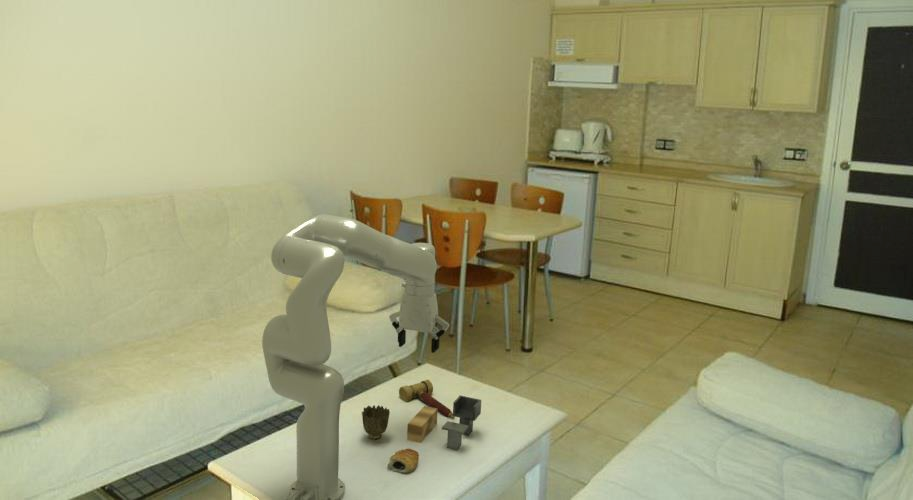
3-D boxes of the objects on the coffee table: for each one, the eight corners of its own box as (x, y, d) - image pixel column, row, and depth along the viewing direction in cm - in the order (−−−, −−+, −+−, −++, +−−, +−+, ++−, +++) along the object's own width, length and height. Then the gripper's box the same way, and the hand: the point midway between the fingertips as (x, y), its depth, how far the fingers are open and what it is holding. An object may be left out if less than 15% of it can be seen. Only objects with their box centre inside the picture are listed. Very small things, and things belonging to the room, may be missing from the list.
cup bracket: (473, 439, 195) (475, 407, 193) (451, 434, 197) (453, 402, 195) (479, 431, 200) (481, 399, 197) (458, 426, 202) (459, 395, 200)
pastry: (400, 453, 186) (401, 439, 185) (424, 458, 184) (425, 445, 183) (385, 470, 178) (386, 456, 177) (410, 476, 176) (411, 462, 175)
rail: (420, 443, 192) (421, 426, 190) (407, 440, 193) (407, 423, 192) (436, 424, 203) (437, 408, 201) (423, 421, 204) (424, 405, 203)
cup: (384, 446, 189) (384, 418, 187) (357, 442, 190) (358, 415, 188) (392, 433, 196) (393, 406, 194) (366, 429, 197) (367, 403, 195)
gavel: (468, 406, 208) (441, 415, 202) (466, 420, 209) (439, 429, 203) (425, 377, 223) (399, 384, 217) (424, 390, 225) (397, 397, 218)
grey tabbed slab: (461, 452, 187) (463, 432, 186) (440, 447, 189) (441, 427, 188) (467, 446, 191) (468, 425, 190) (446, 441, 193) (447, 420, 192)
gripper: (384, 288, 192) (383, 347, 196) (445, 297, 186) (442, 358, 190) (396, 280, 198) (395, 338, 203) (454, 289, 193) (452, 348, 197)
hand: (418, 348), depth 196 cm, fingers open, 9 cm apart
